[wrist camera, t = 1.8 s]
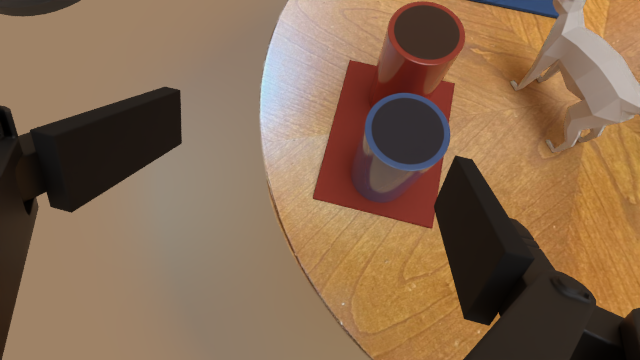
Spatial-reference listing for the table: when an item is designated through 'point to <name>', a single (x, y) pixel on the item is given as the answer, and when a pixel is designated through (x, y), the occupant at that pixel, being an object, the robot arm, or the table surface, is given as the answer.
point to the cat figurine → (585, 75)
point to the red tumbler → (417, 51)
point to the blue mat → (526, 6)
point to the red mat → (343, 147)
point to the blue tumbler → (398, 146)
